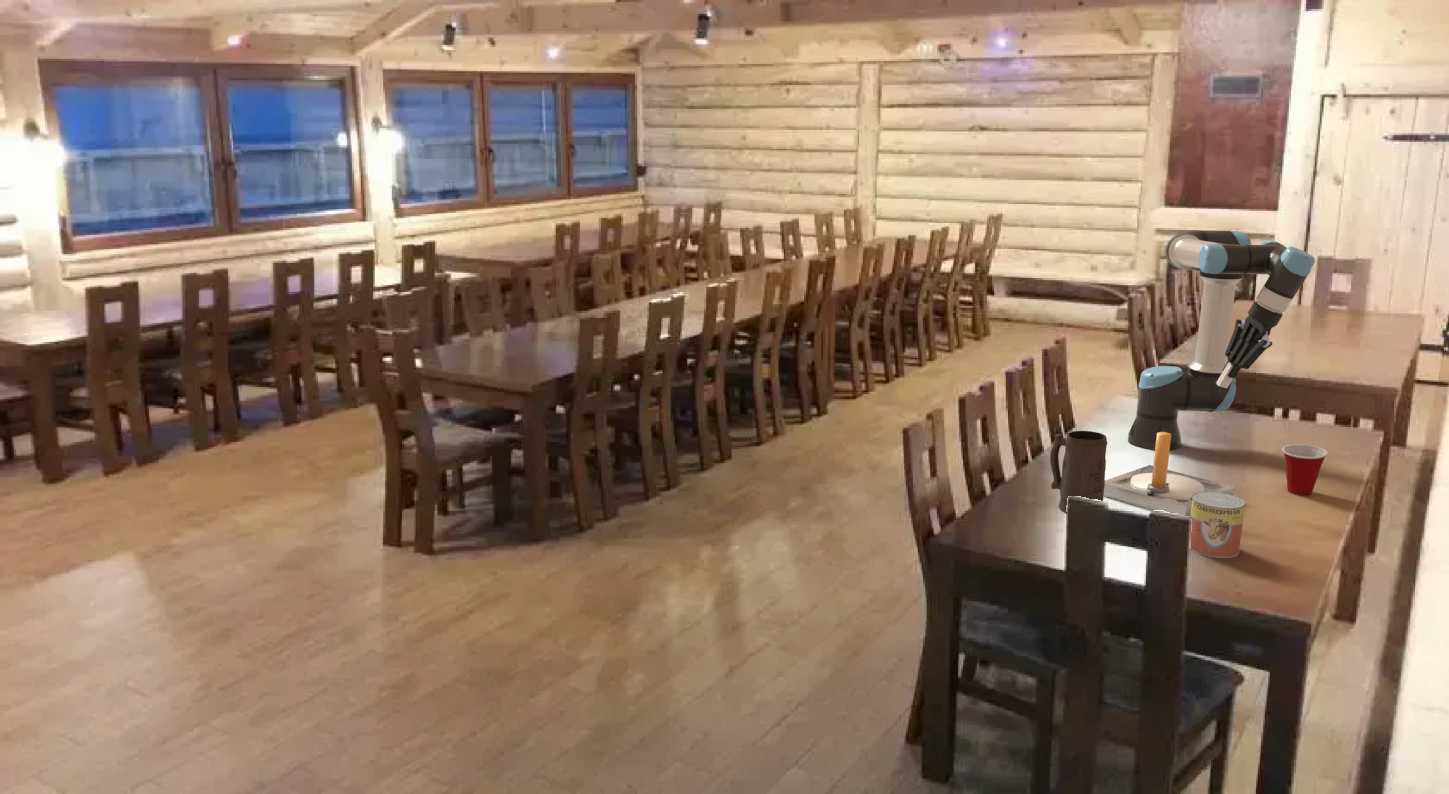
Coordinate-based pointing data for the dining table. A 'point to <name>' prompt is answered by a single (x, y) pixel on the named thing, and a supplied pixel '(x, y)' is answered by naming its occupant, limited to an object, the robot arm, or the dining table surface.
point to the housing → (1124, 492)
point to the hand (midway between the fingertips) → (1221, 385)
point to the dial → (1165, 475)
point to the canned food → (1216, 524)
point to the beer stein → (1079, 465)
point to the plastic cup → (1302, 467)
